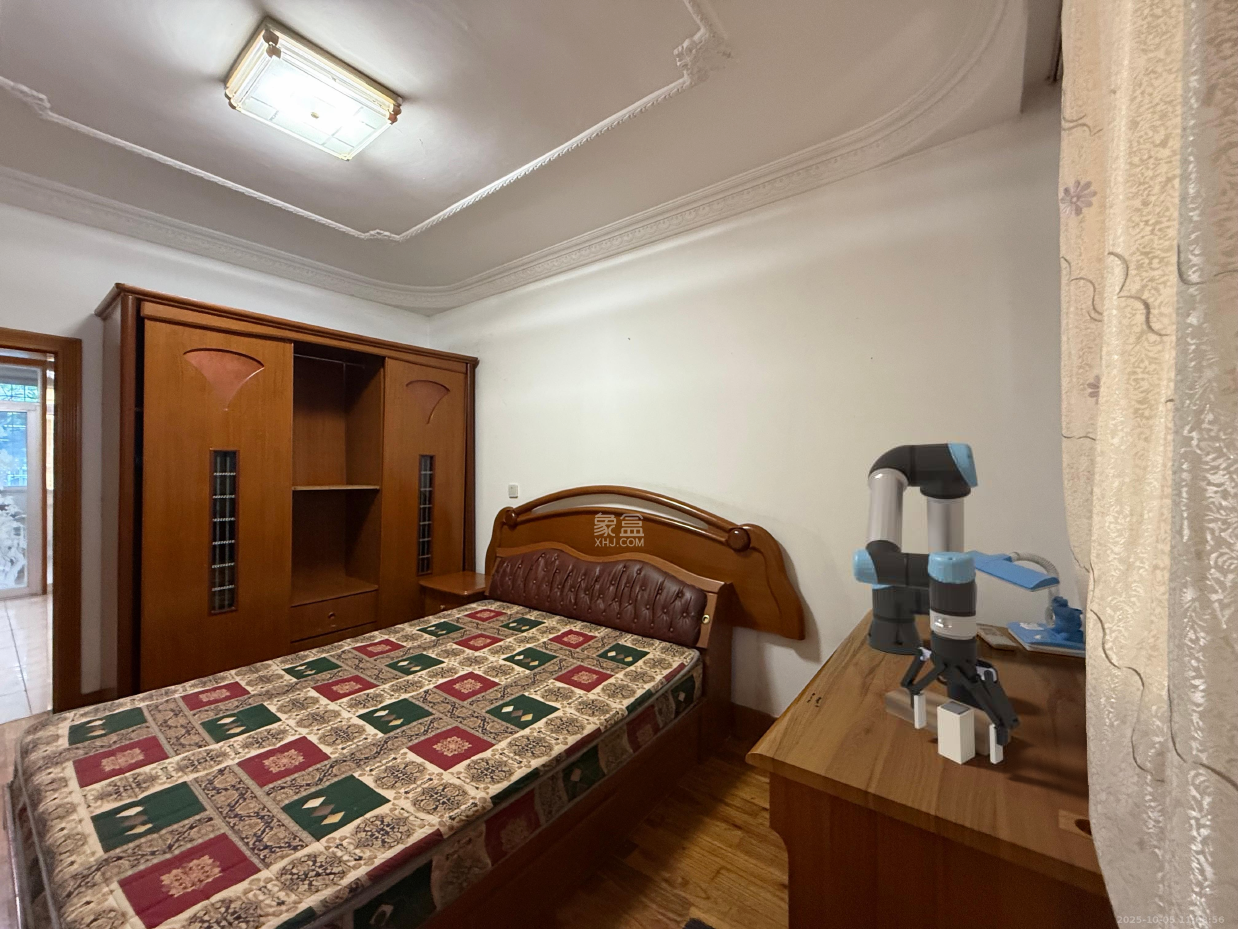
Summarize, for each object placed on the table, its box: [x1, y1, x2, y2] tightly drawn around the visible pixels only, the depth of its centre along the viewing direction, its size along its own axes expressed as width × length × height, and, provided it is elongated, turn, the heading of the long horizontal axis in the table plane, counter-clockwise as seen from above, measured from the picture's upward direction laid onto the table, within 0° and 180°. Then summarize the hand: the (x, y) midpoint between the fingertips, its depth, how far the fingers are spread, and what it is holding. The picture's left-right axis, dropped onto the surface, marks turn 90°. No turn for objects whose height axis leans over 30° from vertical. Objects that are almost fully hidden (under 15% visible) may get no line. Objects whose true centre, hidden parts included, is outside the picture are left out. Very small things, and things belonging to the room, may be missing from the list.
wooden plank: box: [884, 687, 1012, 757], centre depth 105 cm, size 10×20×4 cm, turn 28°
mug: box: [935, 657, 996, 711], centre depth 116 cm, size 9×12×9 cm
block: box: [937, 701, 976, 765], centre depth 95 cm, size 5×4×9 cm
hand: (956, 742), depth 94 cm, fingers open, 13 cm apart
